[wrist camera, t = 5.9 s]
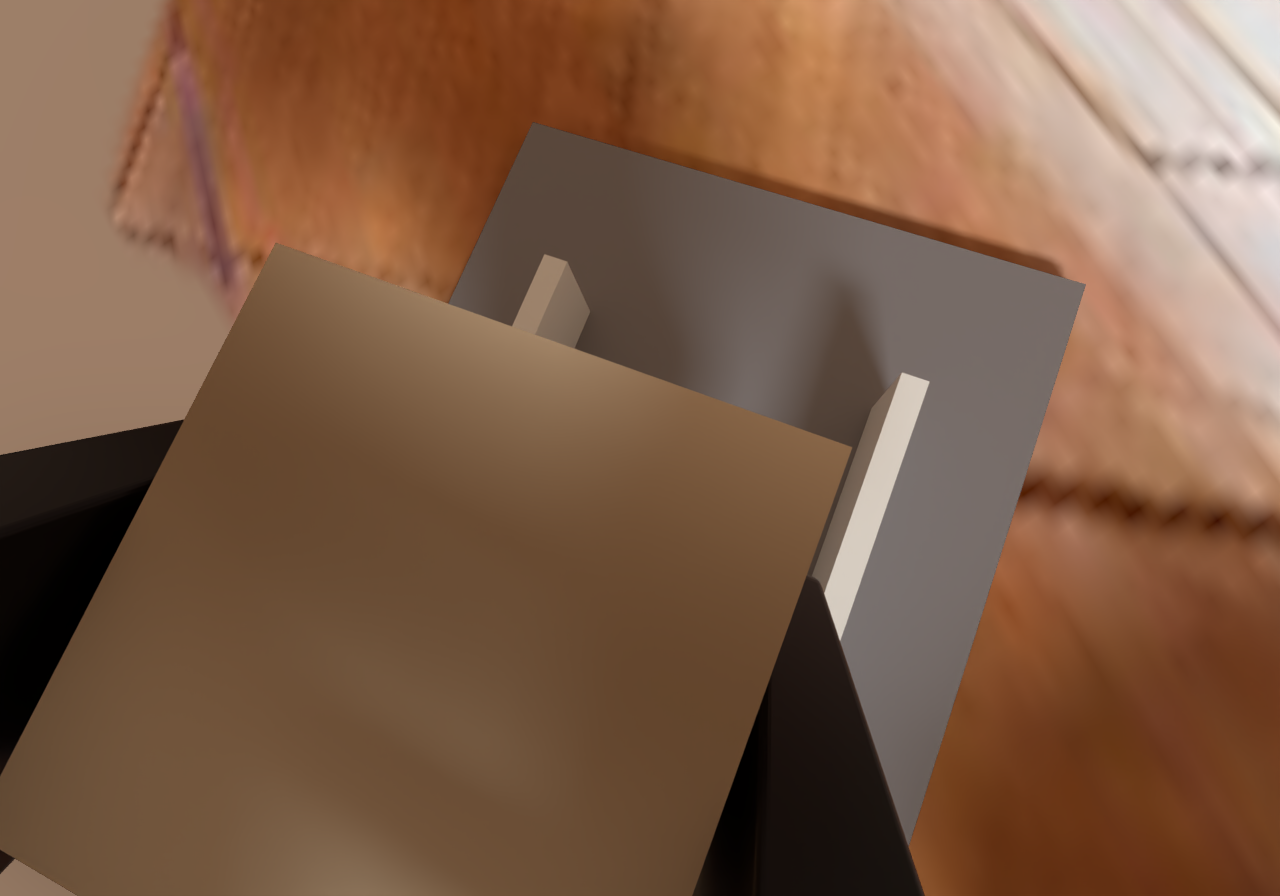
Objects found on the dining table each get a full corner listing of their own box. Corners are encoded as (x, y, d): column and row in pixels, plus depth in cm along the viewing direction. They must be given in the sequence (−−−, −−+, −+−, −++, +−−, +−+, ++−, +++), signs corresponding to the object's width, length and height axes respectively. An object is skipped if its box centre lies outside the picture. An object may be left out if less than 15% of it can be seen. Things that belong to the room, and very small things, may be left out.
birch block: (674, 785, 13) (584, 1198, 4) (444, 677, 14) (-28, 831, 5) (766, 537, 14) (851, 448, 5) (542, 450, 15) (275, 242, 6)
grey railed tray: (729, 1367, 15) (733, 1628, 11) (140, 1003, 18) (-15, 1113, 14) (1070, 297, 18) (1158, 224, 15) (539, 138, 21) (502, 44, 18)
